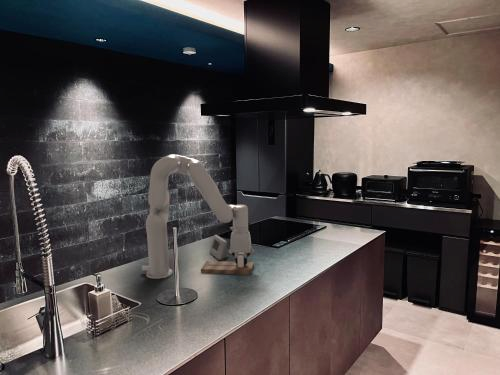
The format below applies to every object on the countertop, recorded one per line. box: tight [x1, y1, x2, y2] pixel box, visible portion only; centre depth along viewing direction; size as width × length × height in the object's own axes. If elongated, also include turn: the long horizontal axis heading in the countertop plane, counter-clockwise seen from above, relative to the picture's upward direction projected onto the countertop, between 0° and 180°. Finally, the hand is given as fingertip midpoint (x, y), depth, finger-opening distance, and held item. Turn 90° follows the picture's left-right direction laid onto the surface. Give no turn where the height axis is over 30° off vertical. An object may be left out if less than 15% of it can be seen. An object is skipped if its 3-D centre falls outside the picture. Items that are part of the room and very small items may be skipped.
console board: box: [200, 260, 255, 276], centre depth 194 cm, size 25×12×2 cm, turn 82°
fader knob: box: [237, 253, 244, 267], centre depth 192 cm, size 3×5×6 cm, turn 172°
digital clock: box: [208, 234, 229, 261], centre depth 214 cm, size 16×9×11 cm, turn 15°
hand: (241, 264), depth 193 cm, fingers closed on fader knob, 3 cm apart
